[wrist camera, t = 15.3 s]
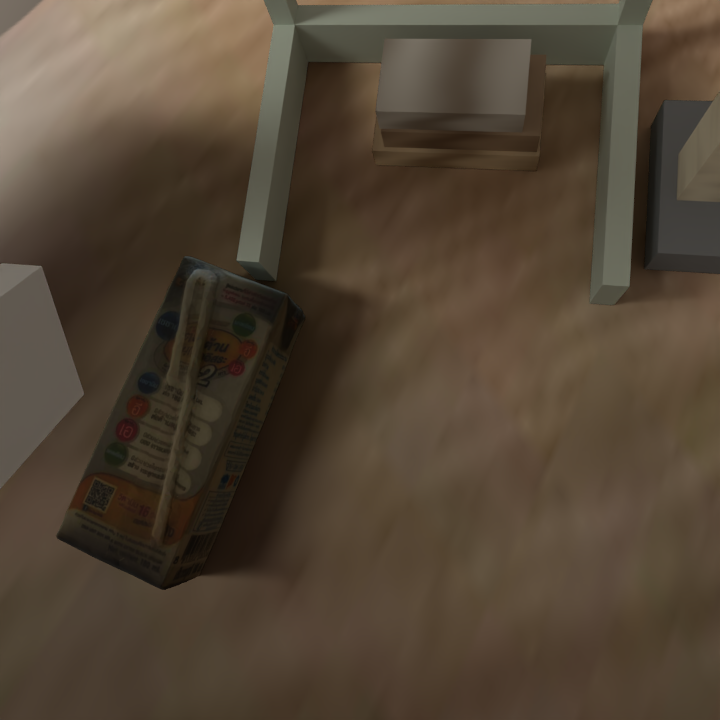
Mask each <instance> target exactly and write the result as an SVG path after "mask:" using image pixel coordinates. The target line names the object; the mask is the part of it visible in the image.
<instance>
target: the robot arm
mask: <svg viewBox="0 0 720 720" xmlns="http://www.w3.org/2000/svg"><path fill="white" fill-rule="evenodd" d="M83 395H84V392H83V389H82V386H81V383H80V380H79V377H78V374H77V371H76V368H75V365H74V362H73V359H72V356H71V353H70V350H69V347H68V344H67V341H66V338H65V335H64V332H63V329H62V326H61V323H60V320H59V317H58V314H57V311H56V308H55V305H54V302H53V299H52V295H51V292H50V289H49V286H48V283H47V280H46V277H45V274H44V271H43V268H42V266H34V265H20V264H6V263H2V264H0V489H1V487H2V486H3V485H4V484H5V483H6V482H7V481H8V479H9V478H10V477H11V476H12V475H13V474H14V473H15V472H16V470H17V469H18V468H19V467H20V466H21V465H22V464H23V463H24V461H25V460H26V459H27V458H28V457H29V456H30V455H31V454H32V452H33V451H34V450H35V449H36V448H37V447H38V446H39V445H40V443H41V442H42V441H43V440H44V439H45V438H46V437H47V436H48V434H49V433H50V432H51V431H52V430H53V429H54V428H55V427H56V425H57V424H58V423H59V422H60V421H61V420H62V419H63V418H64V416H65V415H66V414H67V413H68V412H69V411H70V410H71V408H72V407H73V406H74V405H75V404H76V403H77V402H78V401H79V399H80V398H81V397H82V396H83Z"/></svg>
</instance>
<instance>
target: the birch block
mask: <svg viewBox="0 0 720 720" xmlns="http://www.w3.org/2000/svg"><path fill="white" fill-rule="evenodd" d="M677 200H684V201H707V202H720V91H719V93H718V94H717V96H716V97H715V99H714V100H713V102H712V103H711V105H710V107H709V108H708V110H707V111H706V113H705V114H704V116H703V117H702V119H701V120H700V122H699V123H698V125H697V126H696V128H695V130H694V131H693V133H692V134H691V136H690V137H689V139H688V140H687V142H686V143H685V145H684V146H683V148H682V149H681V151H680V153H679V154H678V179H677Z"/></svg>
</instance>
